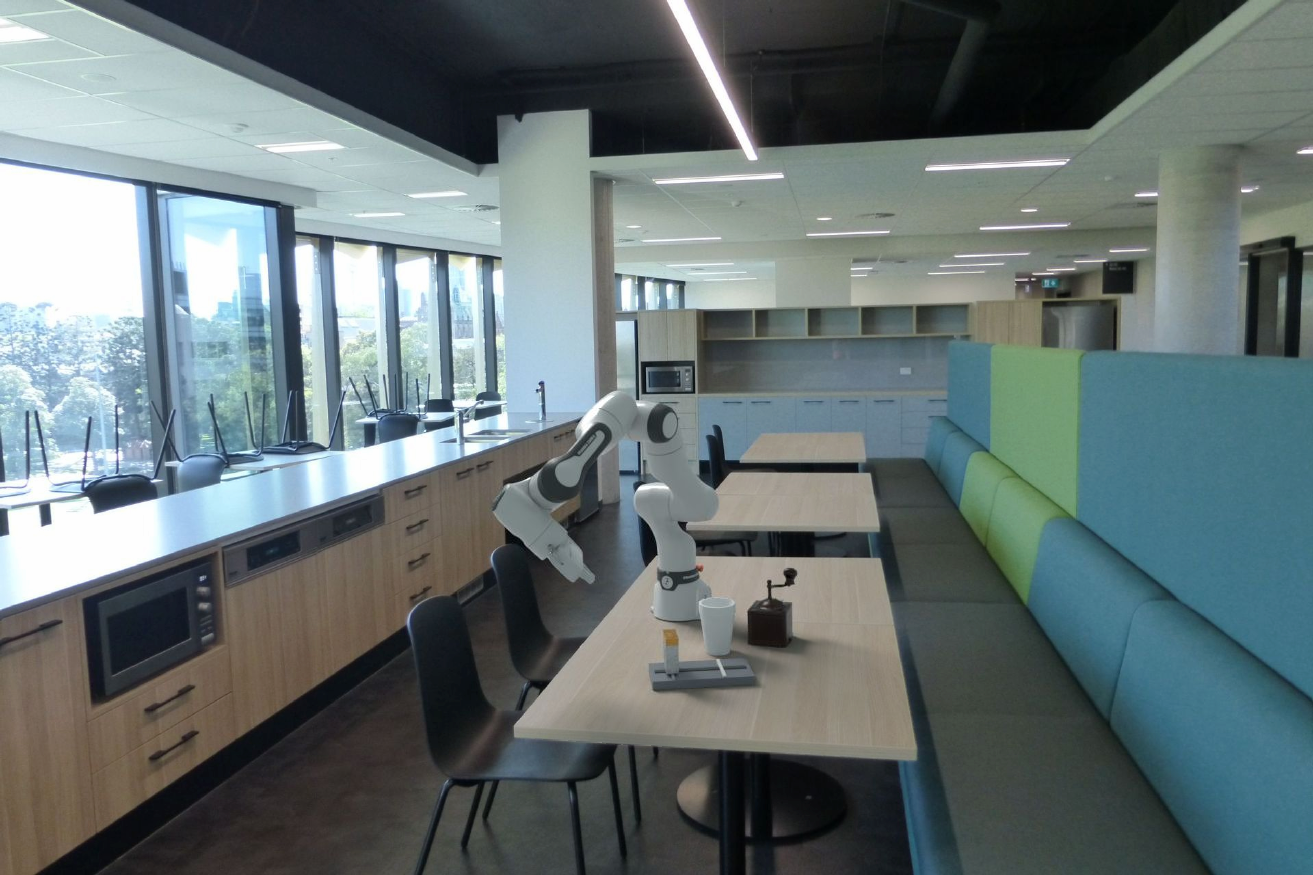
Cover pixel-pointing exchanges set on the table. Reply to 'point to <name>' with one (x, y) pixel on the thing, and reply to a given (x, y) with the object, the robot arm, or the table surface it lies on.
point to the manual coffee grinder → (772, 617)
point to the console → (702, 674)
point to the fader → (671, 651)
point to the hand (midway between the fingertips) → (593, 580)
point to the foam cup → (717, 624)
